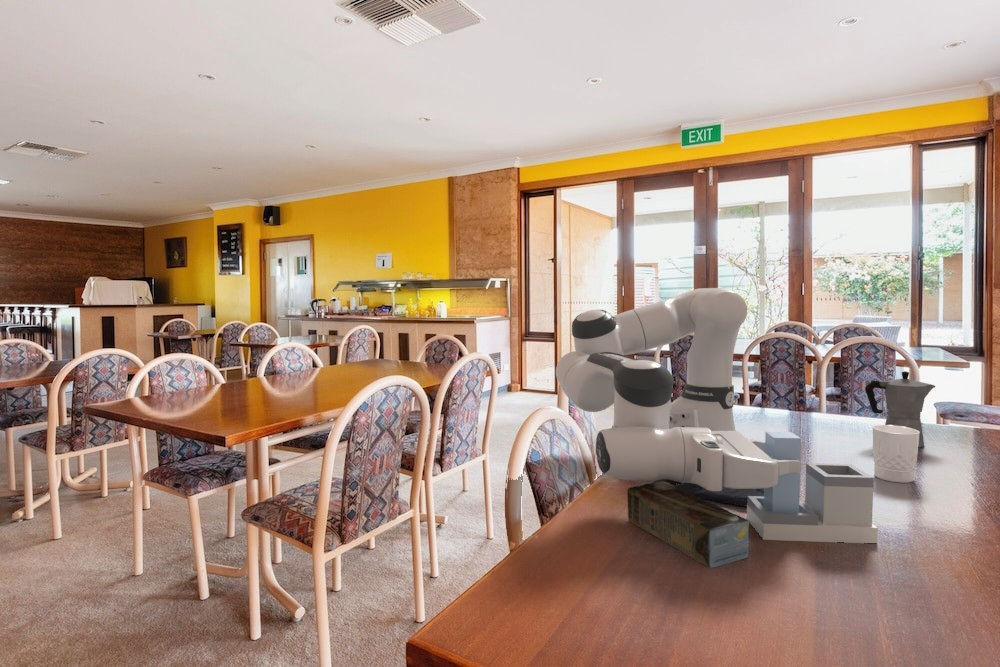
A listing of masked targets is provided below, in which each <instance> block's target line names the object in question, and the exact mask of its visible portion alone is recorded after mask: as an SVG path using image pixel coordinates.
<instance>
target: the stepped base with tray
mask: <svg viewBox="0 0 1000 667" xmlns="http://www.w3.org/2000/svg"><path fill="white" fill-rule="evenodd" d="M874 481H875V480H874V477H873V476H871V475H870V474H868V473H866V472H865V471H864V470H862V469H860V468H859V467H858V466H856V465H854V464H851V463H817V462H815V463H814V462H811V463H810V462H809V463H808V462H807V463H805V494H804V502H803V501H802V500H801V499H799V513H787V512H768V511H767V510H766V509H765V508H764V496H748V500H747V506H746V520H748V521H749V525H751V526H752V527H753V528H755V529H754V530H755V531H756V533H757V534H758V533H759V534H758V535H759V536H760V538H761V537H762V538H761V539H762V540H764V541H787V542H791V541H792V542H811V543H812V542H813V543H814V542H815V543H816V542H817V543H837V542H844V543H843V544H864V543H877V544H878V538H879V537H878V532H879V530H878V529H879V528H878V526H876V525H875V524H873V507H874V504H873V501H874Z"/></svg>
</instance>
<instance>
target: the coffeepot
mask: <svg viewBox="0 0 1000 667" xmlns="http://www.w3.org/2000/svg"><path fill="white" fill-rule="evenodd" d="M909 374H910V372H909V371H901V376H902V378H897V379H890V380H889V379H888V380H871V381H870V382H869V383H868V384H867V385H866V386H865V387H864V388H865V389H864V391H865V393H866V395H867V399H868V403H869V404H870V405H869V406H870V408H871V411H872V413H874V414H883V411H884V409H879V408H878V402H877V400H876V397H875V392H874V389H881V390H884V393H885V394H884V395H885V396H884V397H885V403H886V409H887V416H886V419H885V420H886V421H885V424H884V425H893V426H902V427H908V428H912V429H915V430H918V431H919V432H920V434H919V444H918V447H921V448H924V447H925V441H924V435H923V427H922V420H921V413H922V411H923V409H924V404H925V398H926V397H927V396H928V395H929V393H930V392H931V391H932V390H933V389H934V388H936V385H934V384H929V383H926V382H922V381H916V380H915V379H914V380H913V379H909V376H910V375H909ZM923 446H924V447H923Z"/></svg>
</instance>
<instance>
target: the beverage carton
mask: <svg viewBox="0 0 1000 667" xmlns="http://www.w3.org/2000/svg"><path fill="white" fill-rule="evenodd" d="M627 519H628V521H629V522H630V523H632V524H633V525H635V526H636V527H638V526H639V528H640V529H642V530H644V531H645V532H647V533H648V534H650V533H651V534H650V535H652V536H654V537H656V538H657V539H659V540H661V541H662V542H664V543H665V544H667V543H668V545H669V546H670V547H672V546H673V548H674V549H676V550H677V549H678V551H679V552H681V553H683V554H685V555H686V556H688V557H689V558H692V559H694V560H695V561H697V562H699V563H700V564H703V565H704V566H706V567H707V568H710V569H712V568H716V567H719V566H723V565H727V564H730V563H734V562H737V561H741V560H742V561H743V560H745V559H748V557H749V554H750V553H749V549H750V548H749V547H750V542H749V541H750V539H749V537H750V536H749V530H750V522H749V521H748V520H747V518H744V517H742V516H740V515H738V514H735V513H733V512H731V511H729V510H727V509H725V508H723V507H722V506H719V505H716V504H714V503H713V502H711V501H708V500H707V499H705V498H701V497H698V496H695V495H693V494H691V493H689V492H687V491H684V490H682V489H680V488H678V487H676V486H674V485H671V484H669V483H666V482H664V481H659V482H656V483H653V482H651V483H644V484H642V485H637V486H632V487H628V489H627Z"/></svg>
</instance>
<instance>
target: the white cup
mask: <svg viewBox="0 0 1000 667" xmlns="http://www.w3.org/2000/svg"><path fill="white" fill-rule="evenodd" d="M919 434H920V432H919V431H918V430H915V429H912V428H908V427H902V426H893V425H885V424H883V425H882V424H880V425H879V424H878V425H874V426H873V427H872V451H873V452H872V453H873V454H872V455H873V456H872V457H873V458H872V459H873V465H874V466H873V467H874V469H873V471H874V476H875V477H877V478H878V479H880V480H883V481H888V482H892V483H903V484H907V483H913V482H914V481H915V472H916V469H917V461H918V452H919V448H918V444H919Z"/></svg>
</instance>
